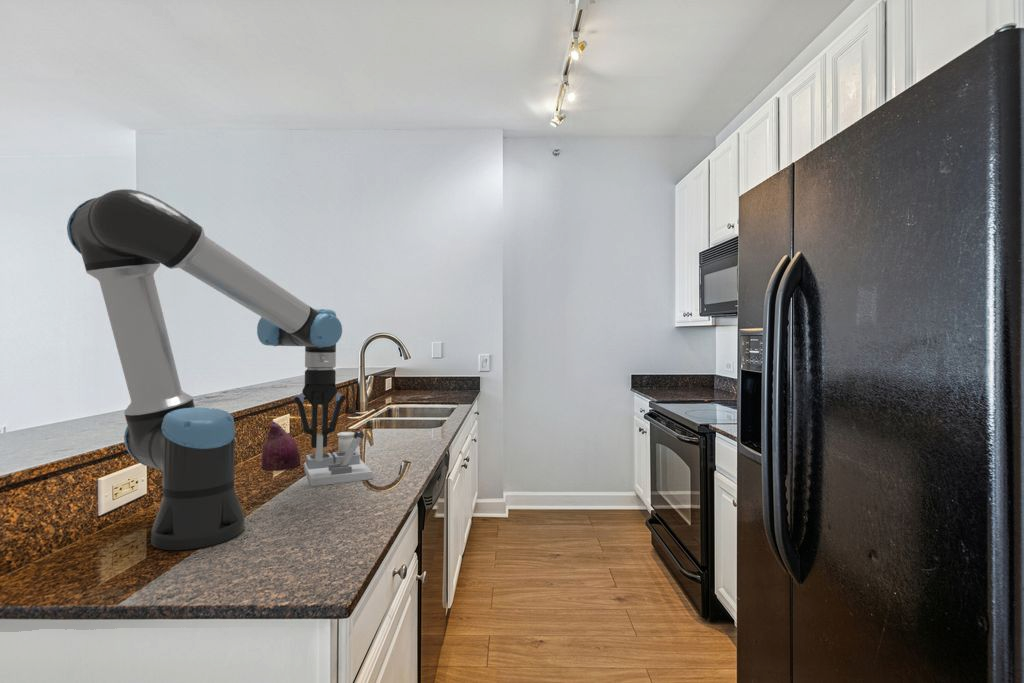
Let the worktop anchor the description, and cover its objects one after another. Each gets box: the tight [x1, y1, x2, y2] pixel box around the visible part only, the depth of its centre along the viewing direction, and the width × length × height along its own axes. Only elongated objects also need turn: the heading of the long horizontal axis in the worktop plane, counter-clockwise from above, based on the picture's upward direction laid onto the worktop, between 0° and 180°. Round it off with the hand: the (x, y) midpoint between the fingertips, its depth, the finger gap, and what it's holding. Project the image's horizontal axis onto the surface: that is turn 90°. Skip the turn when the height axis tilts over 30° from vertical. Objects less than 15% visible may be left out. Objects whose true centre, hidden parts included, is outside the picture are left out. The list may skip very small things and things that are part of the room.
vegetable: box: [261, 420, 301, 472], centre depth 148 cm, size 10×10×15 cm
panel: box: [303, 450, 373, 487], centre depth 141 cm, size 15×18×4 cm
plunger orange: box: [311, 434, 329, 455], centre depth 143 cm, size 5×5×5 cm
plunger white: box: [336, 431, 355, 453], centre depth 146 cm, size 5×5×5 cm
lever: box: [339, 430, 365, 467], centre depth 138 cm, size 3×3×11 cm
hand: (318, 459), depth 134 cm, fingers closed
